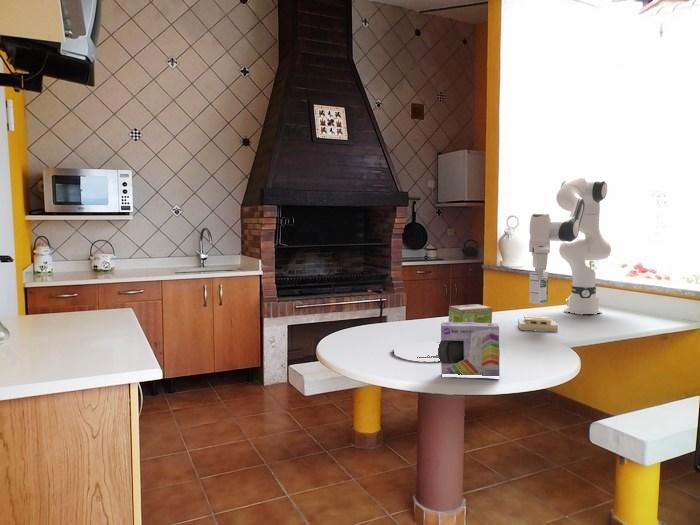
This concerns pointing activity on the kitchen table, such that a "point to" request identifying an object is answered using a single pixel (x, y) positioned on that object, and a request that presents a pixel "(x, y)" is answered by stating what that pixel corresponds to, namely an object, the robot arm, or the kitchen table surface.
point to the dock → (538, 326)
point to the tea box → (470, 313)
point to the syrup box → (538, 288)
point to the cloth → (537, 319)
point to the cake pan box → (469, 348)
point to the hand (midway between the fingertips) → (538, 278)
